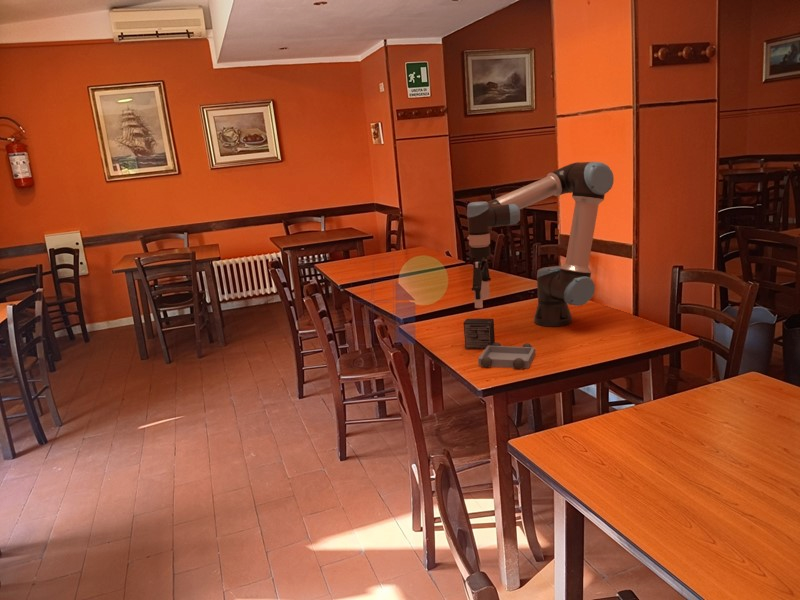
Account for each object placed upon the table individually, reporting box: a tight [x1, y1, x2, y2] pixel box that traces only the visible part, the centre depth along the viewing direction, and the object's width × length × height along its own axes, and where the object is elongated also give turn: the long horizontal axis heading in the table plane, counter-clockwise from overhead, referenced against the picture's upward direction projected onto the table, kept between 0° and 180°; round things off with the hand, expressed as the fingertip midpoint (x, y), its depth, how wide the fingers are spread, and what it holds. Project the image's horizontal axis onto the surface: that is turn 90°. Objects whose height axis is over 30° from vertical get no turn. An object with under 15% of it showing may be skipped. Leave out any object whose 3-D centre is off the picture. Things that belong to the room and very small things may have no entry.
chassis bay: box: [477, 341, 536, 371], centre depth 209 cm, size 17×17×4 cm
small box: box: [463, 318, 496, 350], centre depth 225 cm, size 11×6×10 cm, turn 71°
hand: (482, 303), depth 220 cm, fingers open, 13 cm apart
